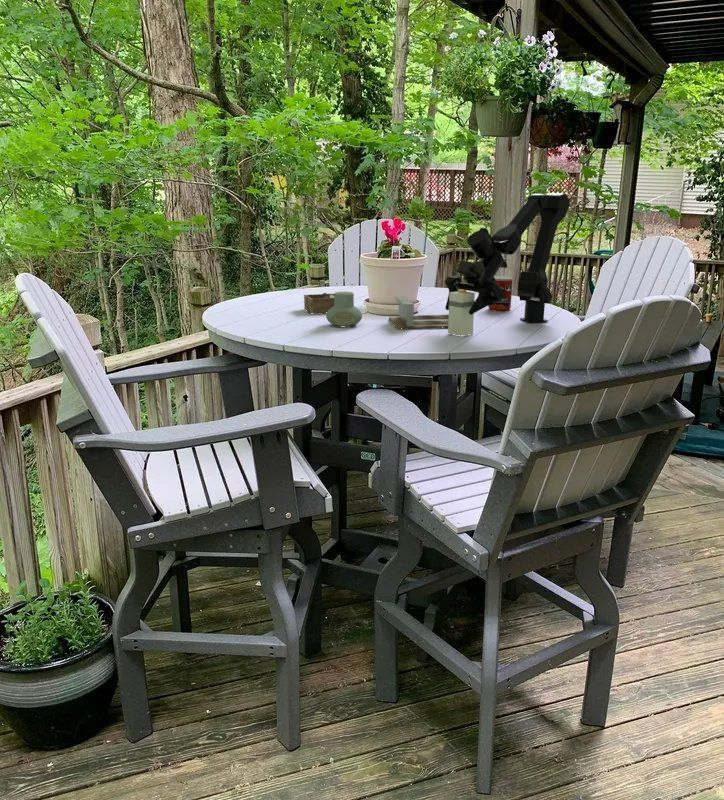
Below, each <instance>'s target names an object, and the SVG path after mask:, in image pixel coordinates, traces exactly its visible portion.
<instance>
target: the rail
mask: <svg viewBox="0 0 724 800" xmlns="http://www.w3.org/2000/svg"><path fill="white" fill-rule="evenodd" d="M394 299H395V300H396V301H397V302H398V312H397V313H398V316H397V317H399V318H400V319H401V321H402V322H403V323H404V324H405V325H406V326H414V315H415V314H414V313H415V312H414V311H415V303H414V302H412V301H411V300H409V298H407V296H394Z"/></svg>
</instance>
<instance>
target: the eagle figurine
mask: <svg viewBox="0 0 724 800" xmlns="http://www.w3.org/2000/svg"><path fill="white" fill-rule="evenodd" d="M321 294H322V295H321V298H334V296H333V295H331V294H332V293H326V292H323V293H321ZM328 294H330V296H329V297H328ZM317 298H320V297H319V296H318V295H317Z"/></svg>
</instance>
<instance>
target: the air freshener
mask: <svg viewBox="0 0 724 800" xmlns="http://www.w3.org/2000/svg"><path fill="white" fill-rule="evenodd" d="M333 294H334V307H332V308H331V309H329V310H328V312H327V313H325V314H326V315H325V316H326V320H327V321H328V322H329V323H330V324H331V325H333V326H335V325H336V326H335V327H338V326H350V327H353V326H352V325H354V326H355V325H357V324H359V323H360V321H362V318H363V313H362V311H361V310H360V309H359V308H358V307H356V306H355V304H354V303H355V302H354V301H355V300H354V299H355V298H354V297H355V295H354V292H352V291H336V292H334V293H333Z"/></svg>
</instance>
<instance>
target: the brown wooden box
mask: <svg viewBox="0 0 724 800" xmlns="http://www.w3.org/2000/svg"><path fill="white" fill-rule="evenodd" d="M322 294H323V293H319V294H304V295H303V297H304V298H303V299H304V301H303V303H304V305H303V306H304V308H303V309H304V310H305V309H306V310H307V311H308V312H307V311H306V310H305V311H306V312H307V313H309V312H310V313H324V314H327V313H326V312H328V310H329V309H331V308H332V307H334V298H321V295H322ZM327 294H328V297H329V296H330V294H331V295H333V296H334V294H335V293H327ZM317 295H318V296H319V297H320V298H317ZM310 313H309V314H310Z"/></svg>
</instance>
